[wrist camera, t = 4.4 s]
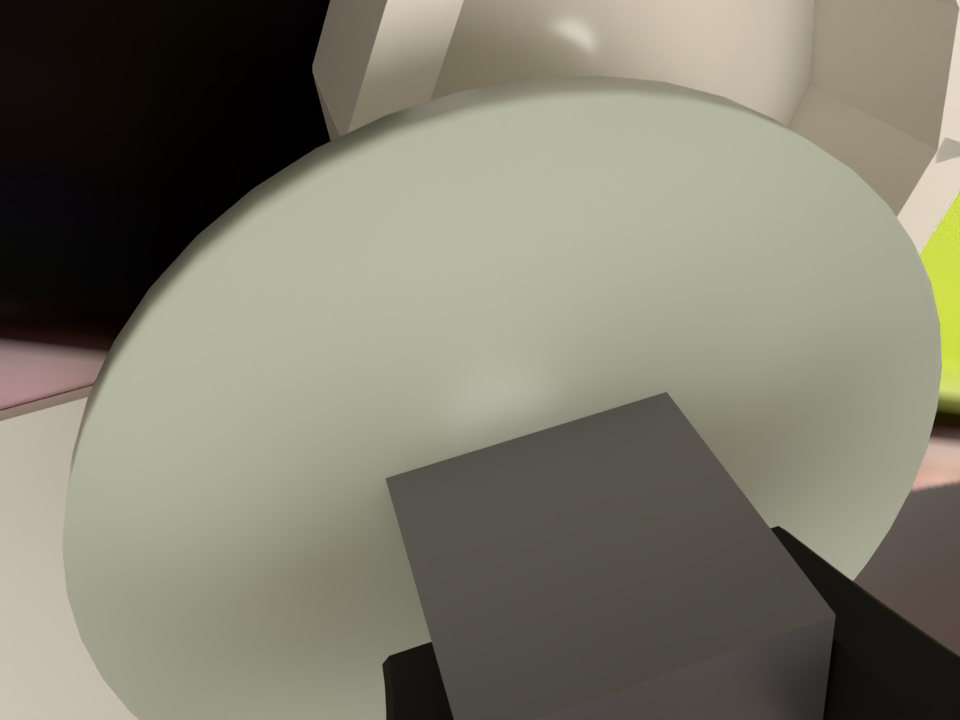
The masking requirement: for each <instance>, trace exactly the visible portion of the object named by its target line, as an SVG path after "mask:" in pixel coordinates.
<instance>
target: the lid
mask: <svg viewBox="0 0 960 720" xmlns="http://www.w3.org/2000/svg"><path fill="white" fill-rule="evenodd" d="M941 369H942V363H941V339H940V323H939V319H938V314H937V309H936V305H935V300H934V295H933V291H932V286H931V282H930V280H929V278H928V275H927V273H926V271H925V268H924V266H923V263H922V261H921V259H920V256H919V254H918V252H917V249H916V247H915V244H914V242H913V241H912V239H911V238H910V236H909V235H908V233H907V232H906V231H905V229H904V228H903V226H902V225H901V223H900V222H899V220H898V219H897V217H896V216H895V214H894V213H893V211H892V210H891V208H890V207H889V205H888V204H887V203H886V202H885V201H884V200H883V199H882V198H881V197H880V196H879V195H878V194H877V193H876V192H875V191H874V190H873V189H872V188H871V187H870V186H869V185H868V184H867V183H866V182H865V181H864V180H863V179H862V178H861V177H860V176H859V175H858V174H857V173H856V172H855V171H854V170H852V169H851V168H849V167H848V166H846V165H845V164H843V163H842V162H840V161H839V160H837V159H836V158H834V157H833V156H831V155H830V154H828V153H827V152H825V151H824V150H822V149H821V148H819V147H818V146H816V145H815V144H813V143H812V142H810V141H809V140H807V139H806V138H804V137H802V136H801V135H799V134H798V133H796V132H794V131H793V130H791V129H790V128H788V127H786V126H785V125H783V124H782V123H780V122H778V121H777V120H775V119H773V118H771V117H769V116H766V115H764V114H762V113H759V112H757V111H755V110H753V109H750V108H748V107H746V106H744V105H741V104H739V103H737V102H734V101H732V100H730V99H728V98H725V97H723V96H719V95H715V94H711V93H707V92H703V91H699V90H695V89H691V88H688V87H684V86H680V85H676V84H672V83H668V82H663V81H653V80H642V79H632V78H621V77H611V76H601V75H597V76H576V77H555V78H534V79H526V80H520V81H515V82H509V83H504V84H499V85H493V86H488V87H482V88H477V89H472V90H466V91H461V92H456V93H453V94H450V95H447V96H444V97H441V98H438V99H435V100H432V101H429V102H426V103H422V104H419V105H416V106H413V107H410V108H407V109H404V110H401V111H398V112H395V113H392V114H388V115H386V116H383V117H381V118H379V119H377V120H375V121H373V122H371V123H369V124H366V125H364V126H362V127H360V128H358V129H356V130H354V131H352V132H350V133H347V134H345V135H343V136H341V137H339V138H337V139H335V140H333V141H330V142H328V143H326V144H324V145H322V146H320V147H318V148H316V149H314V150H313V151H311V152H310V153H308V154H307V155H305V156H303V157H302V158H300V159H299V160H297V161H296V162H294V163H292V164H291V165H289V166H288V167H286V168H285V169H283V170H281V171H280V172H278V173H277V174H275V175H274V176H272V177H271V178H269V179H267V180H266V181H264V182H263V183H261V184H260V185H258V186H256V187H255V188H253V189H252V190H251V191H250V192H248V193H247V194H246V195H245V196H244V197H243V198H241V199H240V200H239V201H238V202H237V203H235V204H234V205H233V206H232V207H231V208H229V209H228V210H227V211H226V212H225V213H224V214H222V215H221V216H220V217H219V218H218V219H216V220H215V221H214V222H213V223H212V224H210V225H209V226H208V227H207V228H206V229H205V230H203V231H202V232H201V233H200V234H199V235H197V236H196V237H195V239H194V240H193V241H192V242H191V243H190V244H189V245H188V246H187V247H186V249H185V250H184V251H183V252H182V253H181V254H180V255H179V256H178V257H177V258H176V260H175V261H174V262H173V263H172V264H171V265H170V266H169V267H168V268H167V270H166V271H165V272H164V273H163V274H162V275H161V276H160V277H159V278H158V279H157V281H156V282H155V283H154V284H153V285H152V286H151V287H150V289H149V290H148V291H147V293H146V294H145V296H144V297H143V299H142V300H141V302H140V303H139V305H138V306H137V308H136V309H135V311H134V312H133V314H132V315H131V317H130V318H129V320H128V321H127V323H126V324H125V326H124V327H123V329H122V330H121V332H120V333H119V335H118V336H117V338H116V339H115V341H114V342H113V344H112V347H111V349H110V351H109V353H108V355H107V357H106V359H105V362H104V364H103V366H102V368H101V370H100V372H99V375H98V377H97V379H96V381H95V383H94V385H93V387H92V390H91V392H90V394H89V396H88V399H87V402H86V406H85V410H84V413H83V417H82V421H81V424H80V428H79V431H78V435H77V439H76V442H75V446H74V450H73V455H72V461H71V468H70V475H69V482H68V488H67V496H66V507H65V519H64V530H63V542H62V551H63V560H64V569H65V579H66V588H67V596H68V599H69V603H70V606H71V609H72V612H73V615H74V618H75V622H76V625H77V628H78V631H79V634H80V637H81V640H82V642H83V644H84V646H85V648H86V649H87V651H88V653H89V655H90V657H91V658H92V660H93V662H94V664H95V666H96V668H97V669H98V671H99V673H100V675H101V677H102V678H103V680H104V681H105V682H106V683H107V685H108V686H109V687H110V688H111V689H112V691H113V692H114V693H115V694H116V695H117V697H118V698H119V699H120V700H121V702H122V703H123V704H124V705H125V706H126V708H127V709H128V710H129V711H130V712H131V713H132V714H133V715H134V716H135V717H137V718H138V719H139V720H386V700H385V684H384V676H383V667H382V664H383V663H384V661H385V660H386V659H387V658H388V656H390V655H393V654H396V653H399V652H402V651H405V650H408V649H411V648H414V647H417V646H420V645H423V644H426V643H429V642H432V644H433V648H434V651H435V655H436V659H437V662H438V666H439V669H440V673H441V676H442V680H443V683H444V687H445V690H446V694H447V697H448V701H449V704H450V708H451V711H452V715H453V719H454V720H823V715H824V707H825V698H826V690H827V682H828V674H829V666H830V658H831V649H832V641H833V633H834V625H835V617H836V615H835V613H834V612H833V611H832V609H831V608H830V607H829V605H828V604H827V603H826V601H825V600H824V599H823V598H822V596H821V595H820V594H819V592H818V591H817V590H816V588H815V587H814V586H813V584H812V583H811V582H810V580H809V579H808V578H807V576H806V575H805V574H804V572H803V571H802V570H801V568H800V567H799V566H798V565H797V563H796V562H795V561H794V559H793V558H792V557H791V555H790V554H789V553H788V551H787V550H786V549H785V547H784V546H783V545H782V543H781V542H780V541H779V539H778V538H777V537H776V535H775V534H774V533H773V531H772V530H771V529H770V528H773V527H776V526H779V527H781V528H783V529H785V530H786V531H788V532H789V533H790V534H792V535H793V536H794V537H795V538H797V539H798V540H799V541H801V542H802V543H803V544H805V545H806V546H807V547H808V548H810V549H811V550H812V551H814V552H815V553H816V554H818V555H819V556H820V557H821V558H823V559H824V560H825V561H827V562H828V563H829V564H831V565H832V566H833V567H835V568H836V569H837V570H839V571H840V572H841V573H843V574H844V575H845V576H846V577H848V578H849V579H851V580H852V581H853V580H854V579H855V577H856V576H857V575H858V574H859V572H860V571H861V570H862V569H863V567H864V566H865V565H866V564H867V562H868V561H869V559H870V558H871V556H872V555H873V553H874V552H875V550H876V549H877V547H878V546H879V544H880V543H881V541H882V540H883V538H884V537H885V535H886V534H887V532H888V531H889V529H890V528H891V526H892V524H893V522H894V520H895V518H896V516H897V514H898V513H899V510H900V509H901V507H902V505H903V503H904V501H905V499H906V497H907V495H908V494H909V492H910V490H911V488H912V485H913V482H914V480H915V477H916V475H917V472H918V470H919V467H920V465H921V462H922V460H923V457H924V455H925V452H926V449H927V445H928V442H929V438H930V434H931V430H932V426H933V422H934V418H935V414H936V410H937V404H938V395H939V386H940V377H941Z"/></svg>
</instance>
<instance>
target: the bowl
mask: <svg viewBox="0 0 960 720" xmlns="http://www.w3.org/2000/svg"><path fill="white" fill-rule="evenodd" d="M312 68H313V70H312V72H313V76H314V79H315V83H316V87H317V91H318V95H319V99H320V102H321V106H322V110H323V114H324V118H325V122H326V125H327V129H328V133H329V137H330V141H333V140H335V139H337V138H339V137H341V136H343V135H345V134H347V133H350V132H352V131H354V130H356V129H358V128H360V127H362V126H364V125H366V124H369V123H371V122H373V121H375V120H377V119H379V118H381V117H383V116H386V115H388V114H392V113H395V112H398V111H401V110H404V109H407V108H410V107H413V106H416V105H419V104H422V103H426V102H429V101H432V100H435V99H438V98H441V97H444V96H447V95H450V94H453V93H456V92H461V91H466V90H472V89H477V88H482V87H488V86H493V85H499V84H504V83H509V82H515V81H520V80H526V79H534V78H555V77H576V76H597V75H601V76H611V77H621V78H632V79H642V80H653V81H663V82H668V83H672V84H676V85H680V86H684V87H688V88H691V89H695V90H699V91H703V92H707V93H711V94H715V95H719V96H723V97H725V98H728V99H730V100H732V101H734V102H737V103H739V104H741V105H744V106H746V107H748V108H750V109H753V110H755V111H757V112H759V113H762V114H764V115H766V116H769V117H771V118H773V119H775V120H777V121H778V122H780V123H782V124H783V125H785V126H786V127H788V128H790V129H791V130H793V131H794V132H796V133H798V134H799V135H801V136H802V137H804V138H806V139H807V140H809V141H810V142H812V143H813V144H815V145H816V146H818V147H819V148H821V149H822V150H824V151H825V152H827V153H828V154H830V155H831V156H833V157H834V158H836V159H837V160H839V161H840V162H842V163H843V164H845V165H846V166H848V167H849V168H851V169H852V170H854V171H855V172H856V173H857V174H858V175H859V176H860V177H861V178H862V179H863V180H864V181H865V182H866V183H867V184H868V185H869V186H870V187H871V188H872V189H873V190H874V191H875V192H876V193H877V194H878V195H879V196H880V197H881V198H882V199H883V200H884V201H885V202H886V203H887V204H888V205H889V207H890V208H891V210H892V211H893V213H894V214H895V216H896V217H897V219H898V220H899V222H900V223H901V225H902V226H903V228H904V229H905V231H906V232H907V233H908V235H909V236H910V238H911V239H912V241H913V242H914V244H915V247H916V249H917V252H918V254H919V255H920V253H921V252H922V250H923V248H924V247H925V245H926V244H927V242H928V241H929V239H930V237H931V236H932V234H933V233H934V231H935V230H936V228H937V226H938V225H939V223H940V222H941V220H942V218H943V217H944V215H945V214H946V212H947V211H948V209H949V207H950V206H951V204H952V203H953V201H954V199H955V198H956V196H957V195H958V193H959V192H960V0H330V3H329V7H328V11H327V14H326V18H325V22H324V25H323V29H322V33H321V36H320V40H319V44H318V47H317V51H316V55H315V58H314V62H313V66H312Z"/></svg>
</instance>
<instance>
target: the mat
mask: <svg viewBox="0 0 960 720" xmlns="http://www.w3.org/2000/svg"><path fill="white" fill-rule="evenodd" d="M92 387H93V385H92V386H89V387H85V388H82V389H78V390H74V391H71V392H67V393H63V394H60V395H56V396H52V397H49V398H45V399H41V400H38V401H34V402H31V403H27V404H23V405H20V406H16V407H12V408H9V409H5V410H1V411H0V720H139V719H138V718H137V717H135V716H134V715H133V714H132V713H131V712H130V711H129V710H128V709H127V708H126V706H125V705H124V704H123V703H122V702H121V700H120V699H119V698H118V697H117V695H116V694H115V693H114V692H113V691H112V689H111V688H110V687H109V686H108V685H107V683H106V682H105V681H104V680H103V678H102V677H101V675H100V673H99V671H98V669H97V668H96V666H95V664H94V662H93V660H92V658H91V657H90V655H89V653H88V651H87V649H86V648H85V646H84V644H83V642H82V640H81V637H80V634H79V631H78V628H77V625H76V622H75V618H74V615H73V612H72V609H71V606H70V603H69V599H68V596H67V588H66V579H65V569H64V560H63V551H62V542H63V530H64V519H65V507H66V496H67V488H68V482H69V475H70V468H71V461H72V455H73V450H74V446H75V442H76V439H77V435H78V431H79V428H80V424H81V421H82V417H83V413H84V410H85V406H86V402H87V399H88V396H89V394H90V392H91V390H92Z"/></svg>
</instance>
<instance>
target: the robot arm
mask: <svg viewBox="0 0 960 720" xmlns="http://www.w3.org/2000/svg"><path fill="white" fill-rule="evenodd" d="M770 529H771V530H772V531H773V533H774V534H775V535H776V537H777V538H778V539H779V541H780V542H781V543H782V545H783V546H784V547H785V549H786V550H787V551H788V553H789V554H790V555H791V557H792V558H793V559H794V561H795V562H796V563H797V565H798V566H799V567H800V568H801V570H802V571H803V572H804V574H805V575H806V576H807V578H808V579H809V580H810V582H811V583H812V584H813V586H814V587H815V588H816V590H817V591H818V592H819V594H820V595H821V596H822V598H823V599H824V600H825V601H826V603H827V604H828V605H829V607H830V608H831V609H832V611H833V612H834V613H835V615H836V617H835V625H834V633H833V641H832V649H831V658H830V666H829V674H828V682H827V690H826V698H825V707H824V715H823V720H960V656H958V655H957V654H955V653H954V652H952V651H951V650H949V649H948V648H946V647H945V646H943V645H942V644H940V643H939V642H937V641H936V640H935V639H933V638H932V637H930V636H929V635H927V634H926V633H925V632H923V631H922V630H920V629H919V628H917V627H916V626H914V625H913V624H911V623H910V622H909V621H907V620H906V619H904V618H903V617H901V616H900V615H898V614H897V613H896V612H894V611H893V610H892V609H890V608H888V607H887V606H886V605H884V604H883V603H882V602H880V601H879V600H878V599H876V598H875V597H874V596H872V595H871V594H869V593H868V592H867V591H865V590H864V589H863V588H861V587H860V586H859V585H857V584H856V583H855V582H853V581H852V580H851V579H849V578H848V577H846V576H845V575H844V574H843V573H841V572H840V571H839V570H837V569H836V568H835V567H833V566H832V565H831V564H829V563H828V562H827V561H825V560H824V559H823V558H821V557H820V556H819V555H818V554H816V553H815V552H814V551H812V550H811V549H810V548H808V547H807V546H806V545H805V544H803V543H802V542H801V541H799V540H798V539H797V538H795V537H794V536H793V535H792V534H790V533H789V532H788V531H786V530H785V529H783V528H781V527H779V526H776V527H773V528H770ZM382 667H383V676H384V684H385V700H386V720H454V719H453V715H452V711H451V708H450V704H449V701H448V697H447V694H446V690H445V687H444V683H443V680H442V676H441V673H440V669H439V666H438V662H437V659H436V655H435V651H434V648H433V644H432V642H429V643H426V644H423V645H420V646H417V647H414V648H411V649H408V650H405V651H402V652H399V653H396V654H393V655H390V656H388V658H387V659H386V660H385V661H384V663H383V664H382Z"/></svg>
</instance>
